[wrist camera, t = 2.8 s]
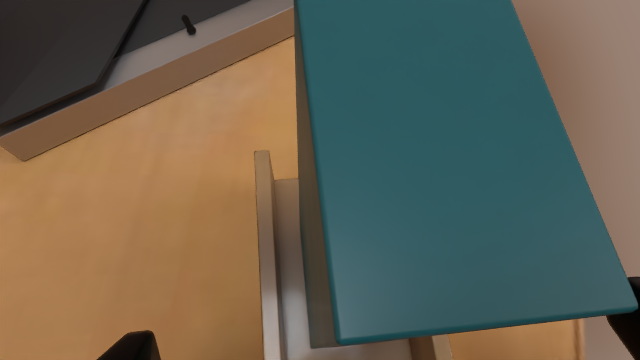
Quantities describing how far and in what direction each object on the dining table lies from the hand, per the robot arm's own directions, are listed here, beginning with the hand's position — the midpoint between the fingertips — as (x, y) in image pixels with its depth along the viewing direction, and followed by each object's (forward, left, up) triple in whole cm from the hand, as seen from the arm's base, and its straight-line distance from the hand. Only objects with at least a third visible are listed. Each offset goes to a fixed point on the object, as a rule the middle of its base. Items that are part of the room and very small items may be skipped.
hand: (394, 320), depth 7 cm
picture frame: (+23, +3, -10) cm, 25 cm away
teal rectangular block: (+2, -1, -9) cm, 9 cm away
